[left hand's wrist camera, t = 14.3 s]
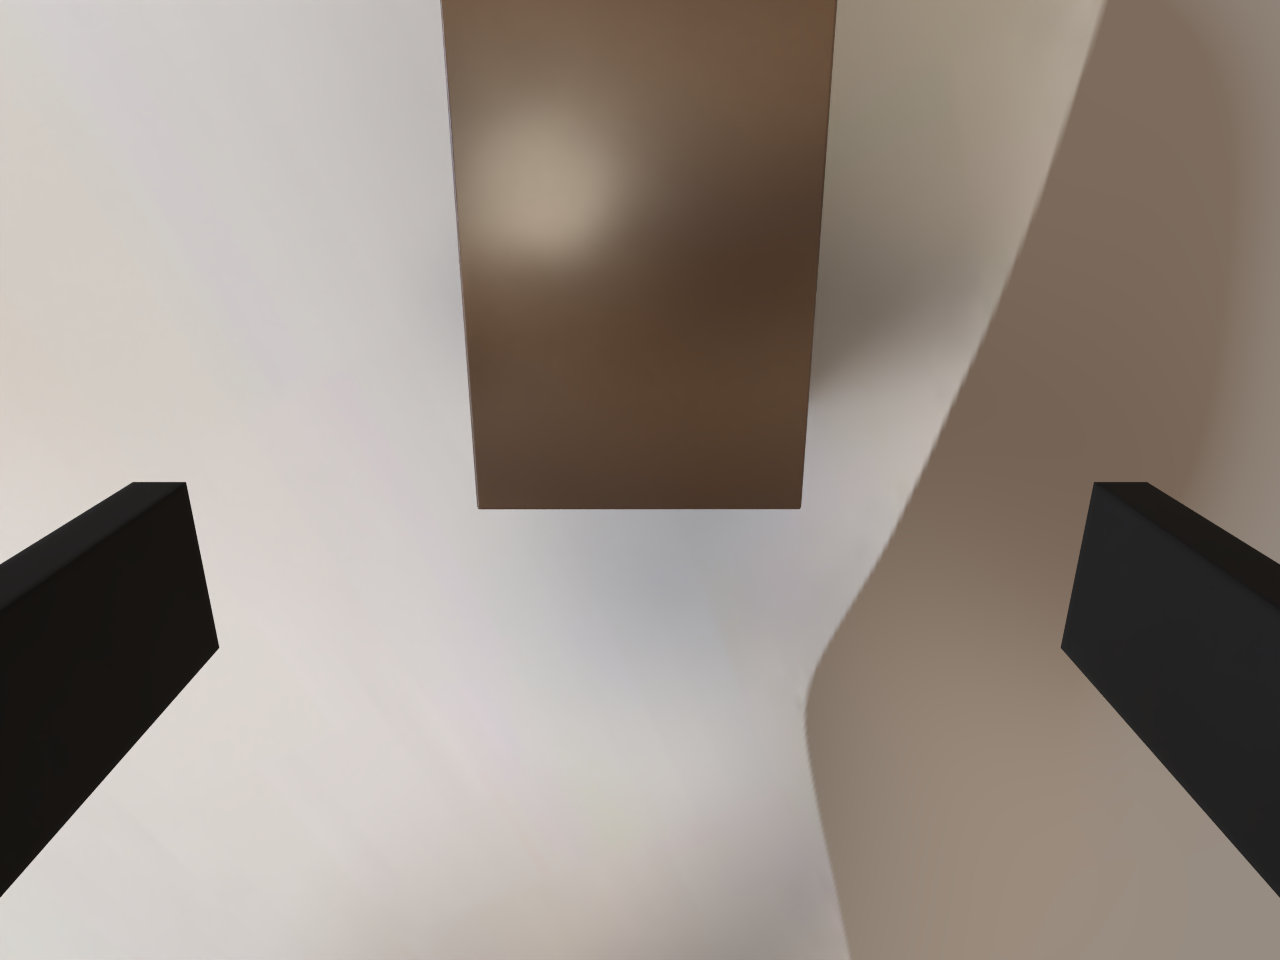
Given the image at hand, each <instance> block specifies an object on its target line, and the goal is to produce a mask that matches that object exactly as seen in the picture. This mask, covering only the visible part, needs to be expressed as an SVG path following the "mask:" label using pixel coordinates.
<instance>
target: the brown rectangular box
mask: <svg viewBox="0 0 1280 960" xmlns="http://www.w3.org/2000/svg"><path fill="white" fill-rule="evenodd" d="M440 1H441V15H442V29H443V43H444V56H445V70H446V84H447V98H448V111H449V125H450V139H451V152H452V166H453V180H454V194H455V207H456V221H457V235H458V248H459V262H460V276H461V290H462V303H463V317H464V331H465V345H466V358H467V372H468V386H469V399H470V413H471V427H472V441H473V454H474V468H475V482H476V495H477V507H478V509H800V508H801V500H802V486H803V472H804V458H805V444H806V430H807V416H808V402H809V387H810V373H811V359H812V345H813V331H814V317H815V303H816V289H817V275H818V261H819V247H820V233H821V219H822V205H823V191H824V177H825V163H826V149H827V135H828V121H829V107H830V93H831V79H832V65H833V51H834V37H835V23H836V9H837V0H440Z"/></svg>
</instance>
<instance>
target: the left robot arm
mask: <svg viewBox="0 0 1280 960" xmlns="http://www.w3.org/2000/svg"><path fill="white" fill-rule="evenodd" d="M218 649H219V644H218V639H217V634H216V629H215V624H214V619H213V614H212V609H211V604H210V599H209V594H208V589H207V584H206V579H205V574H204V570H203V565H202V560H201V555H200V550H199V545H198V540H197V535H196V530H195V525H194V520H193V515H192V510H191V505H190V500H189V495H188V490H187V485H186V482H132V483H131V484H129V485H128V486H126V487H124V488H123V489H121V490H120V491H118V492H116V493H115V494H113V495H112V496H110V497H108V498H107V499H105V500H103V501H102V502H100V503H99V504H97V505H95V506H94V507H92V508H91V509H89V510H87V511H86V512H84V513H82V514H81V515H79V516H78V517H76V518H74V519H73V520H71V521H70V522H68V523H66V524H65V525H63V526H61V527H60V528H58V529H57V530H55V531H53V532H52V533H50V534H49V535H47V536H45V537H44V538H42V539H41V540H39V541H37V542H36V543H34V544H32V545H31V546H29V547H28V548H26V549H24V550H23V551H21V552H20V553H18V554H16V555H15V556H13V557H11V558H10V559H8V560H7V561H5V562H3V563H2V564H0V897H1V896H2V895H3V894H4V893H5V891H6V890H7V889H8V888H9V887H10V886H11V885H12V883H13V882H14V881H15V880H16V879H17V878H18V877H19V876H20V874H21V873H22V872H23V871H24V870H25V869H26V868H27V866H28V865H29V864H30V863H31V862H32V861H33V860H34V858H35V857H36V856H37V855H38V854H39V853H40V852H41V850H42V849H43V848H44V847H45V846H46V845H47V844H48V842H49V841H50V840H51V839H52V838H53V837H54V836H55V834H56V833H57V832H58V831H59V830H60V829H61V828H62V826H63V825H64V824H65V823H66V822H67V821H68V820H69V818H70V817H71V816H72V815H73V814H74V813H75V812H76V811H77V809H78V808H79V807H80V806H81V805H82V804H83V803H84V801H85V800H86V799H87V798H88V797H89V796H90V795H91V793H92V792H93V791H94V790H95V789H96V788H97V787H98V785H99V784H100V783H101V782H102V781H103V780H104V779H105V777H106V776H107V775H108V774H109V773H110V772H111V771H112V769H113V768H114V767H115V766H116V765H117V764H118V763H119V761H120V760H121V759H122V758H123V757H124V756H125V755H126V753H127V752H128V751H129V750H130V749H131V748H132V747H133V746H134V744H135V743H136V742H137V741H138V740H139V739H140V738H141V736H142V735H143V734H144V733H145V732H146V731H147V730H148V728H149V727H150V726H151V725H152V724H153V723H154V722H155V720H156V719H157V718H158V717H159V716H160V715H161V714H162V712H163V711H164V710H165V709H166V708H167V707H168V706H169V704H170V703H171V702H172V701H173V700H174V699H175V698H176V696H177V695H178V694H179V693H180V692H181V691H182V690H183V688H184V687H185V686H186V685H187V684H188V683H189V682H190V681H191V679H192V678H193V677H194V676H195V675H196V674H197V673H198V671H199V670H200V669H201V668H202V667H203V666H204V665H205V663H206V662H207V661H208V660H209V659H210V658H211V657H212V655H213V654H214V653H215V652H216V651H217V650H218ZM1061 649H1062V650H1063V651H1064V652H1065V653H1066V654H1067V655H1068V657H1069V658H1070V659H1071V660H1072V661H1073V662H1074V663H1075V664H1076V666H1077V667H1078V668H1079V669H1080V670H1081V671H1082V673H1083V674H1084V675H1085V676H1086V677H1087V678H1088V679H1089V681H1090V682H1091V683H1092V684H1093V685H1094V686H1095V687H1096V688H1097V690H1098V691H1099V692H1100V693H1101V694H1102V695H1103V696H1104V698H1105V699H1106V700H1107V701H1108V702H1109V703H1110V704H1111V706H1112V707H1113V708H1114V709H1115V710H1116V711H1117V712H1118V714H1119V715H1120V716H1121V717H1122V718H1123V719H1124V720H1125V722H1126V723H1127V724H1128V725H1129V726H1130V727H1131V728H1132V730H1133V731H1134V732H1135V733H1136V734H1137V735H1138V736H1139V738H1140V739H1141V740H1142V741H1143V742H1144V743H1145V744H1146V746H1147V747H1148V748H1149V749H1150V750H1151V751H1152V752H1153V753H1154V755H1155V756H1156V757H1157V758H1158V759H1159V760H1160V761H1161V763H1162V764H1163V765H1164V766H1165V767H1166V768H1167V769H1168V771H1169V772H1170V773H1171V774H1172V775H1173V776H1174V777H1175V779H1176V780H1177V781H1178V782H1179V783H1180V784H1181V785H1182V786H1183V788H1184V789H1185V790H1186V791H1187V792H1188V793H1189V795H1190V796H1191V797H1192V798H1193V799H1194V800H1195V801H1196V803H1197V804H1198V805H1199V806H1200V807H1201V808H1202V809H1203V811H1204V812H1205V813H1206V814H1207V815H1208V816H1209V817H1210V818H1211V820H1212V821H1213V822H1214V823H1215V824H1216V825H1217V826H1218V828H1219V829H1220V830H1221V831H1222V832H1223V833H1224V834H1225V836H1226V837H1227V838H1228V839H1229V840H1230V841H1231V842H1232V844H1233V845H1234V846H1235V847H1236V848H1237V849H1238V850H1239V852H1240V853H1241V854H1242V855H1243V856H1244V857H1245V858H1246V859H1247V861H1248V862H1249V863H1250V864H1251V865H1252V866H1253V867H1254V869H1255V870H1256V871H1257V872H1258V873H1259V874H1260V876H1261V877H1262V878H1263V879H1264V880H1265V881H1266V882H1267V883H1268V885H1269V886H1270V887H1271V888H1272V889H1273V890H1274V891H1275V893H1276V894H1277V895H1278V896H1279V897H1280V564H1278V563H1277V562H1275V561H1273V560H1272V559H1270V558H1269V557H1267V556H1265V555H1264V554H1262V553H1260V552H1259V551H1257V550H1256V549H1254V548H1252V547H1251V546H1249V545H1247V544H1246V543H1244V542H1243V541H1241V540H1239V539H1238V538H1236V537H1235V536H1233V535H1231V534H1230V533H1228V532H1227V531H1225V530H1223V529H1222V528H1220V527H1218V526H1217V525H1215V524H1214V523H1212V522H1210V521H1209V520H1207V519H1206V518H1204V517H1202V516H1201V515H1199V514H1198V513H1196V512H1194V511H1193V510H1191V509H1189V508H1188V507H1186V506H1185V505H1183V504H1181V503H1180V502H1178V501H1177V500H1175V499H1173V498H1172V497H1170V496H1168V495H1167V494H1165V493H1164V492H1162V491H1160V490H1159V489H1157V488H1156V487H1154V486H1152V485H1151V484H1149V483H1147V482H1094V485H1093V490H1092V495H1091V500H1090V505H1089V510H1088V515H1087V520H1086V525H1085V530H1084V535H1083V540H1082V545H1081V550H1080V555H1079V560H1078V565H1077V570H1076V574H1075V580H1074V585H1073V589H1072V594H1071V599H1070V605H1069V609H1068V614H1067V619H1066V624H1065V629H1064V634H1063V639H1062V644H1061Z"/></svg>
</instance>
